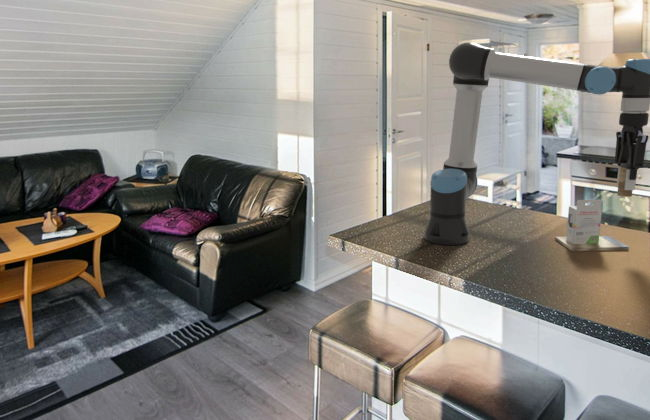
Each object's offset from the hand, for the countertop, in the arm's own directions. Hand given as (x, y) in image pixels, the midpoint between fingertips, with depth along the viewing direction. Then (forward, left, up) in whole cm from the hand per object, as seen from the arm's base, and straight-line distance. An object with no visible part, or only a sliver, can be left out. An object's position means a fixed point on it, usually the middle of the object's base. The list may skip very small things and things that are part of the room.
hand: (625, 188), depth 161 cm
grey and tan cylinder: (0, 0, -2) cm, 2 cm away
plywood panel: (-8, +3, -19) cm, 21 cm away
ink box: (-11, +2, -18) cm, 21 cm away
